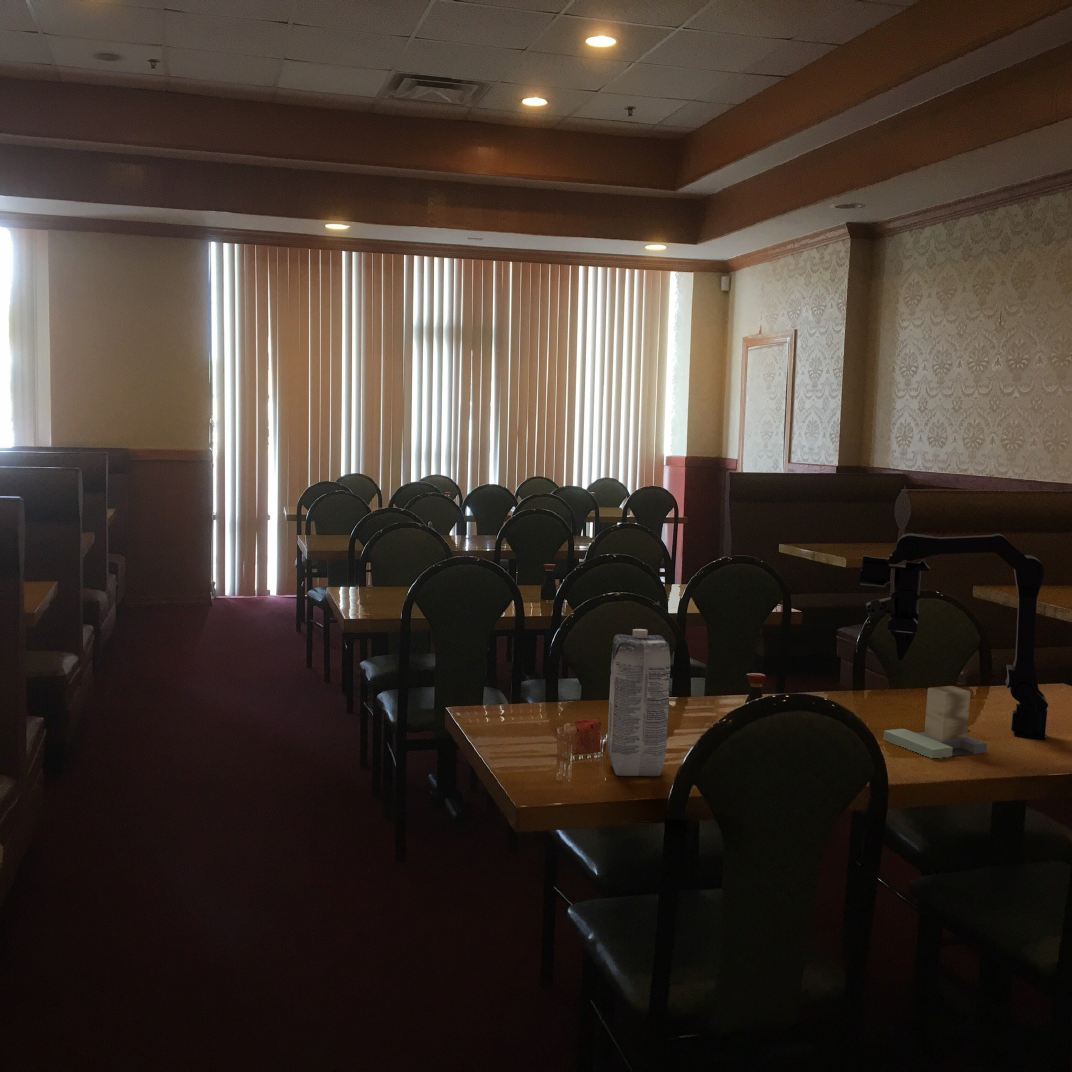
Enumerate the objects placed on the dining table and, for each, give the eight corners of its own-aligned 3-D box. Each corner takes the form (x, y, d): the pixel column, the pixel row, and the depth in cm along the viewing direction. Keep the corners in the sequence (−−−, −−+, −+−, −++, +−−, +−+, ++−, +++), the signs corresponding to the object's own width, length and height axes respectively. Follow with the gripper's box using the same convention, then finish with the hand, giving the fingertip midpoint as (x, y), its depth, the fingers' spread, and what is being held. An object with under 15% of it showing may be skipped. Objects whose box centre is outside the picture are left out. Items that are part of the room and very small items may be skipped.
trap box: (936, 733, 241) (936, 724, 240) (986, 752, 228) (986, 743, 228) (883, 739, 234) (884, 730, 234) (931, 759, 222) (932, 749, 222)
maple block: (948, 730, 236) (952, 685, 235) (966, 737, 231) (970, 691, 230) (924, 733, 233) (927, 688, 232) (941, 740, 229) (945, 693, 227)
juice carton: (667, 778, 203) (674, 636, 200) (611, 778, 202) (618, 635, 199) (658, 763, 212) (665, 627, 209) (604, 762, 211) (611, 625, 208)
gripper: (871, 580, 261) (866, 644, 262) (867, 591, 243) (861, 659, 245) (921, 584, 257) (915, 649, 259) (920, 595, 239) (914, 665, 241)
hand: (900, 655), depth 251 cm, fingers open, 9 cm apart
